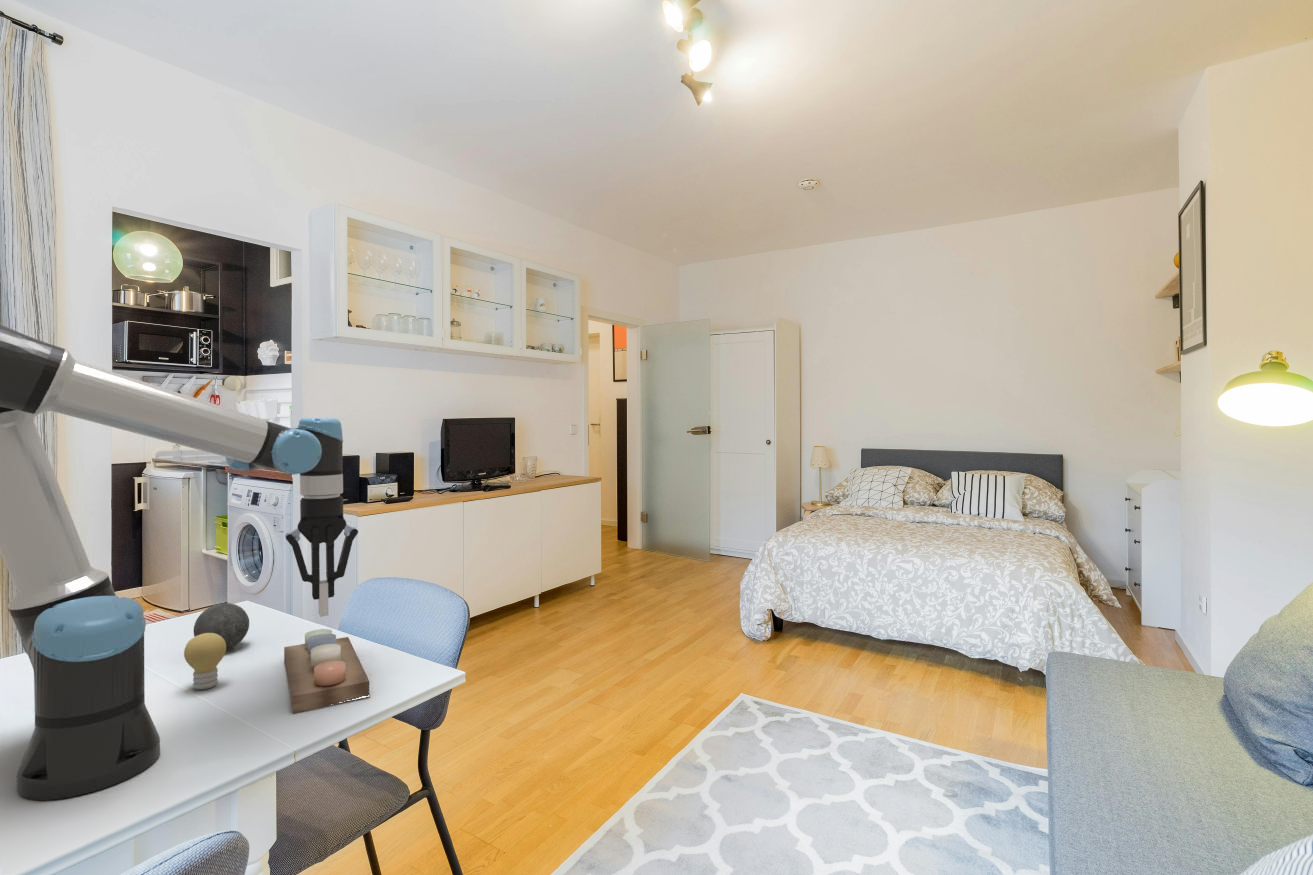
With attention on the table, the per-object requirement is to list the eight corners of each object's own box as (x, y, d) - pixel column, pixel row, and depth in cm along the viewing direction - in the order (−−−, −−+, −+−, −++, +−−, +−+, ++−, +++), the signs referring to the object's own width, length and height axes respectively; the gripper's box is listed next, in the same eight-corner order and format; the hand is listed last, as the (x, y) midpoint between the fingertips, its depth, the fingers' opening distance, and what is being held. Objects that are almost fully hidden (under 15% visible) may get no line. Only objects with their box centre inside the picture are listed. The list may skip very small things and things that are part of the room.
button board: (292, 713, 108) (292, 695, 108) (284, 661, 131) (284, 646, 131) (369, 697, 114) (369, 680, 114) (348, 650, 138) (348, 636, 138)
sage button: (305, 651, 128) (305, 638, 128) (303, 643, 132) (303, 631, 132) (333, 646, 131) (333, 634, 131) (330, 639, 135) (330, 627, 135)
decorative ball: (199, 645, 140) (199, 600, 140) (252, 639, 144) (252, 595, 144) (188, 660, 131) (188, 612, 131) (245, 653, 135) (245, 607, 135)
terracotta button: (315, 687, 110) (315, 673, 110) (312, 678, 115) (312, 663, 115) (347, 681, 113) (347, 667, 113) (343, 672, 117) (343, 658, 117)
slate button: (308, 656, 122) (308, 643, 122) (306, 649, 126) (306, 636, 126) (337, 652, 125) (337, 638, 125) (334, 644, 129) (334, 631, 129)
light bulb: (177, 689, 117) (176, 635, 117) (214, 677, 123) (214, 626, 122) (196, 696, 114) (195, 641, 114) (233, 684, 120) (233, 631, 119)
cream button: (312, 668, 116) (311, 654, 116) (309, 660, 120) (309, 646, 120) (342, 663, 119) (342, 649, 119) (338, 655, 123) (338, 641, 123)
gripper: (355, 492, 132) (356, 604, 132) (282, 496, 125) (284, 614, 125) (360, 495, 125) (362, 613, 126) (284, 500, 118) (286, 625, 119)
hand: (323, 614), depth 126 cm, fingers closed
